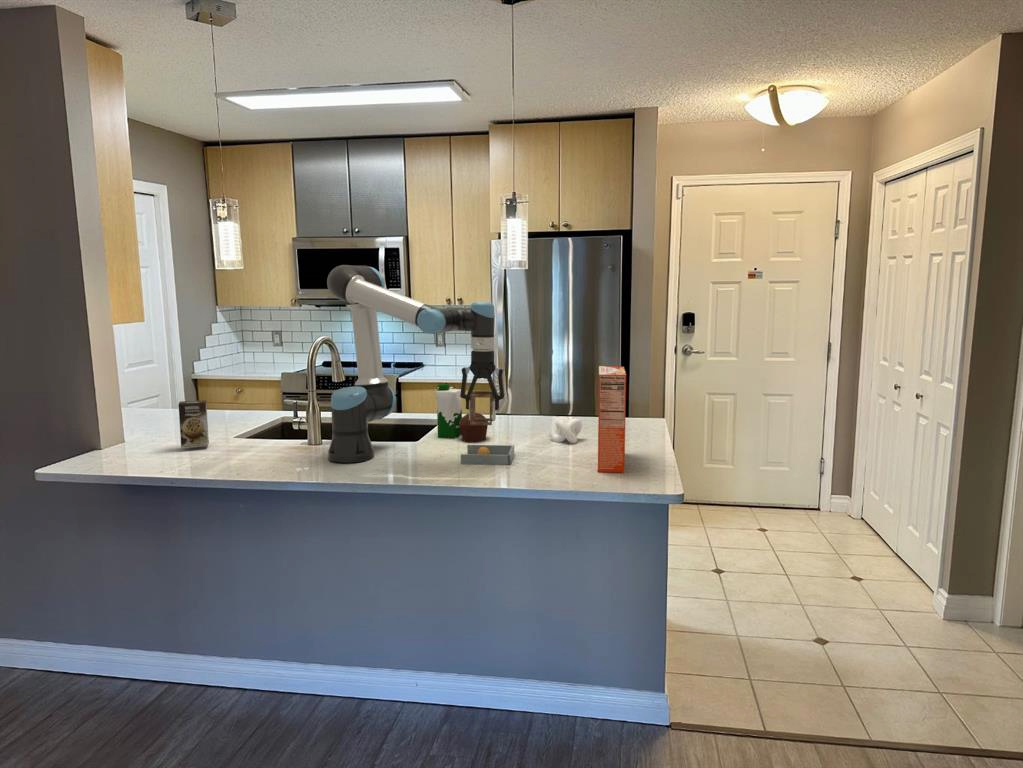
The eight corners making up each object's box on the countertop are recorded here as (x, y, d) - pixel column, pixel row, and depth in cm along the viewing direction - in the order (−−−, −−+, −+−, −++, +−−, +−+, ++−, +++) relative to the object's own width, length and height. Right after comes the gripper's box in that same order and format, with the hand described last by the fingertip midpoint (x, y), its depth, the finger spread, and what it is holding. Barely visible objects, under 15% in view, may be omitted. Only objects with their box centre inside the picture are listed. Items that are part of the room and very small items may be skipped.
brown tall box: (180, 448, 240) (177, 403, 238) (182, 444, 246) (179, 401, 244) (208, 446, 244) (205, 402, 242) (209, 442, 250) (206, 399, 248)
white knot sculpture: (570, 437, 255) (570, 414, 254) (590, 443, 245) (590, 419, 244) (545, 441, 249) (545, 417, 248) (565, 447, 239) (565, 422, 238)
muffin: (484, 444, 245) (484, 416, 243) (455, 442, 247) (454, 416, 246) (491, 437, 256) (491, 411, 255) (463, 436, 258) (463, 410, 257)
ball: (475, 449, 221) (487, 447, 221) (477, 446, 225) (488, 444, 224) (477, 461, 221) (489, 459, 221) (479, 458, 225) (491, 456, 225)
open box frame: (470, 424, 218) (470, 394, 217) (473, 420, 226) (473, 390, 224) (491, 425, 218) (491, 394, 216) (494, 420, 225) (494, 391, 224)
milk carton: (443, 433, 263) (442, 382, 260) (465, 435, 260) (464, 383, 257) (434, 438, 255) (433, 385, 252) (456, 439, 252) (455, 386, 249)
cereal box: (597, 453, 229) (599, 366, 225) (622, 454, 228) (623, 366, 224) (597, 471, 207) (599, 374, 203) (624, 472, 206) (626, 374, 202)
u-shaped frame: (460, 463, 217) (460, 454, 216) (467, 453, 231) (467, 444, 231) (510, 464, 215) (510, 455, 215) (514, 453, 229) (514, 445, 229)
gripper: (450, 350, 215) (450, 420, 219) (512, 351, 214) (511, 422, 217) (454, 348, 223) (454, 416, 226) (514, 349, 221) (513, 418, 224)
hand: (482, 419), depth 222 cm, fingers closed on open box frame, 7 cm apart
